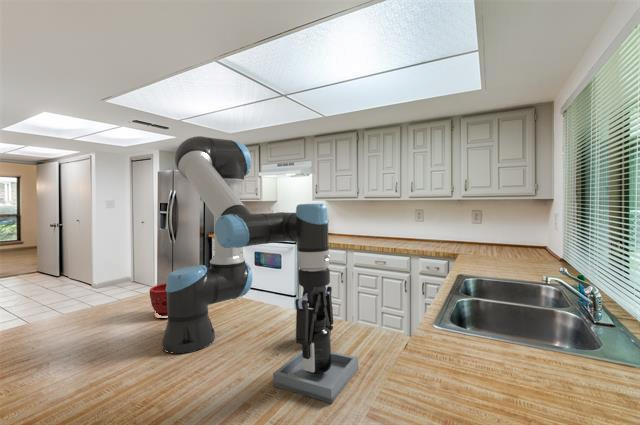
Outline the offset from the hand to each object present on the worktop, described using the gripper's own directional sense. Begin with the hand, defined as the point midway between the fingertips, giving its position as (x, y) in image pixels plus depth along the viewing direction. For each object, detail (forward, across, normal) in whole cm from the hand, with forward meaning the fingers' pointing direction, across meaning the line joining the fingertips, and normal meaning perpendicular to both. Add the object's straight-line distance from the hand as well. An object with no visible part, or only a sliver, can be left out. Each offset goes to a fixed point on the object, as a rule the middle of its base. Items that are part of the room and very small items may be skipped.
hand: (317, 362), depth 74 cm
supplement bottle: (+1, 0, 0) cm, 1 cm away
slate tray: (+3, 0, 0) cm, 3 cm away
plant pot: (+4, +14, +76) cm, 77 cm away
